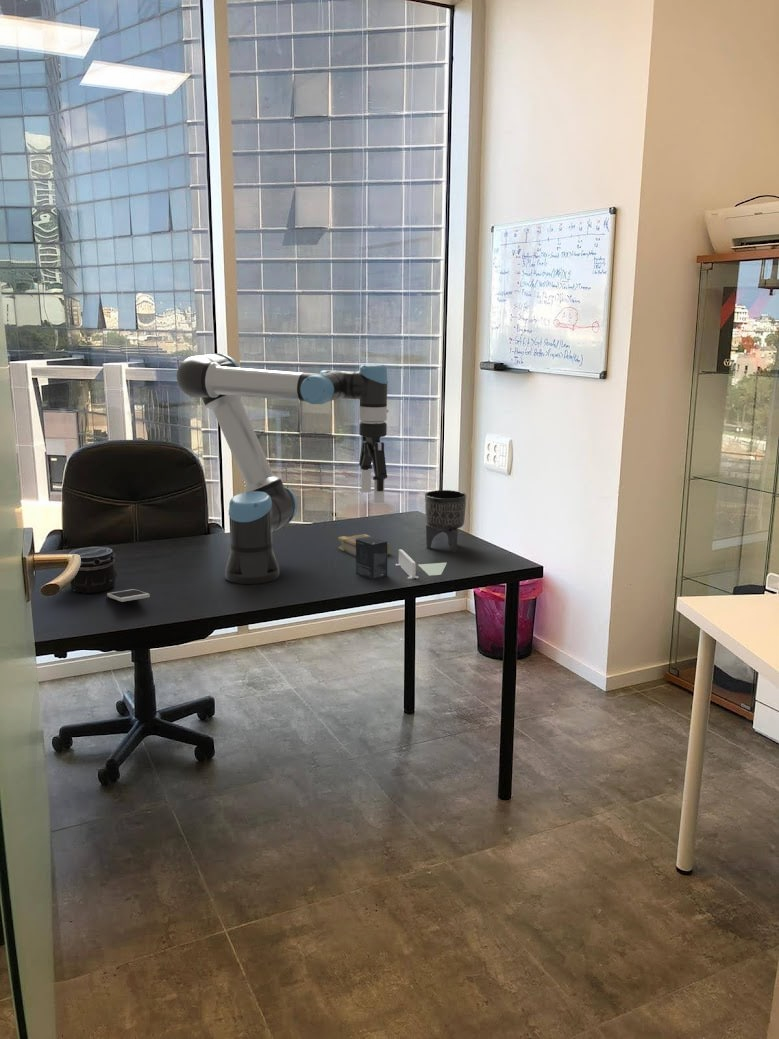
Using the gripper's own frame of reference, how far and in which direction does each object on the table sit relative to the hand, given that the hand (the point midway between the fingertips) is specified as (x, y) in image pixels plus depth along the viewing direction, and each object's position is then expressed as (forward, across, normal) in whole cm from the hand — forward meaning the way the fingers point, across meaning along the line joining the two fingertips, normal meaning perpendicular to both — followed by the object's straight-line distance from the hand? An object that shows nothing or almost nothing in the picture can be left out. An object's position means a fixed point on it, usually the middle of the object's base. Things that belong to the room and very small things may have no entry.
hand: (372, 497), depth 242 cm
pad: (+22, -2, -20) cm, 30 cm away
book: (+23, +23, -4) cm, 33 cm away
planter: (+23, +19, -29) cm, 42 cm away
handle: (+22, -1, -10) cm, 25 cm away
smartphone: (+22, -14, +65) cm, 70 cm away
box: (+23, -1, 0) cm, 23 cm away
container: (+23, +9, +76) cm, 80 cm away
